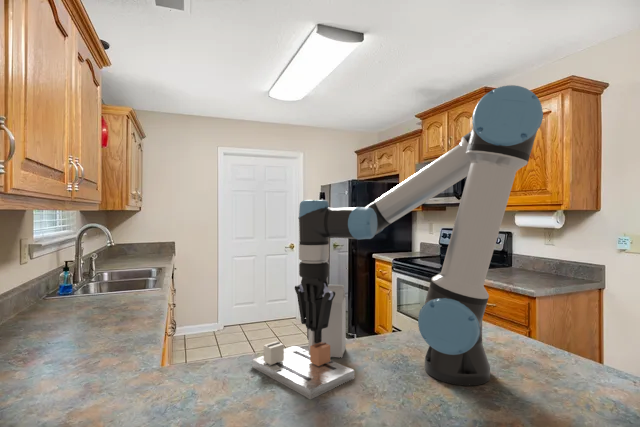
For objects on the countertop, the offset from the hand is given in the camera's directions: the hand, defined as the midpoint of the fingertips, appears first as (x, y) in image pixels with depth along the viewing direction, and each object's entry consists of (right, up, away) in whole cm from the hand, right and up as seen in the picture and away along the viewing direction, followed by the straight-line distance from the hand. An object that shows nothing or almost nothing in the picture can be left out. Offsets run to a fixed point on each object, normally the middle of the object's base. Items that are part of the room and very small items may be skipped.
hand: (314, 354), depth 92 cm
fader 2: (+1, -1, -2) cm, 3 cm away
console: (-3, -4, -3) cm, 5 cm away
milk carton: (+5, -4, +10) cm, 12 cm away
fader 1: (-10, -1, -1) cm, 10 cm away
